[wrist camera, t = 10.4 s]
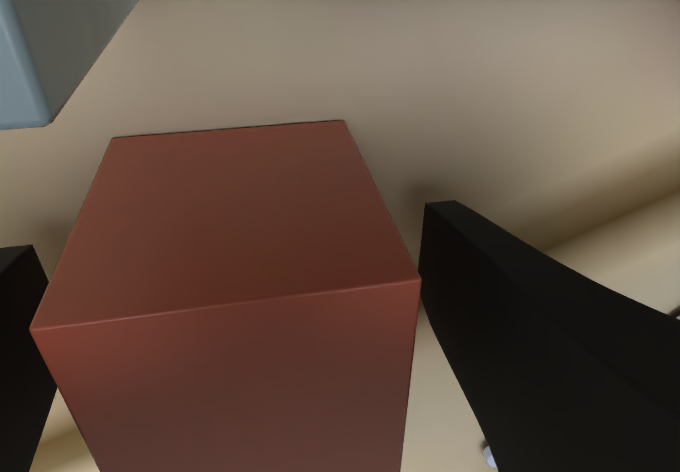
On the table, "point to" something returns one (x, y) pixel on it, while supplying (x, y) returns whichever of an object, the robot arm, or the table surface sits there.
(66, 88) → the drawer
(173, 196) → the block
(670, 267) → the table surface
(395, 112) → the table surface
